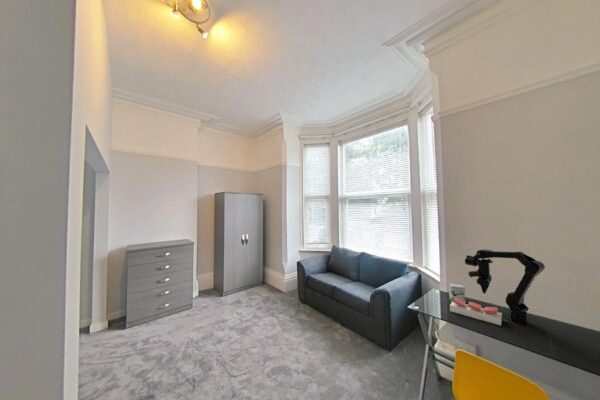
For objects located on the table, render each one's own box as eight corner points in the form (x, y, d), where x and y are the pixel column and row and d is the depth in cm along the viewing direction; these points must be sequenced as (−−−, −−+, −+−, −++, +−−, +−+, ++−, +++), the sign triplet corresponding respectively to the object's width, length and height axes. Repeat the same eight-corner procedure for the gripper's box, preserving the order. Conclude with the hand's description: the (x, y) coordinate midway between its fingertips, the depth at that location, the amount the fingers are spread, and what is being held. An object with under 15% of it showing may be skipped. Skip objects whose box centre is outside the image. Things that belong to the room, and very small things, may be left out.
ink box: (451, 302, 156) (450, 285, 156) (449, 299, 161) (448, 283, 161) (465, 303, 154) (464, 287, 154) (462, 300, 158) (462, 284, 159)
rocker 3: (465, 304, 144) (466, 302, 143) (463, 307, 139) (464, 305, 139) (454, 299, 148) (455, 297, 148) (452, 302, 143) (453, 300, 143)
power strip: (508, 321, 130) (508, 314, 130) (507, 327, 123) (507, 320, 123) (452, 306, 150) (452, 300, 150) (450, 311, 143) (449, 304, 143)
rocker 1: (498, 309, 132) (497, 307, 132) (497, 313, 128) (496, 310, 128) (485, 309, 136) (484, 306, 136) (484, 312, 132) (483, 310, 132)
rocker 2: (481, 307, 138) (481, 305, 138) (479, 310, 133) (480, 308, 133) (469, 303, 142) (469, 301, 142) (467, 306, 138) (467, 304, 138)
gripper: (471, 263, 158) (471, 284, 158) (466, 268, 145) (467, 292, 145) (491, 266, 150) (492, 288, 150) (488, 272, 137) (489, 296, 137)
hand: (484, 291), depth 145 cm, fingers open, 9 cm apart
